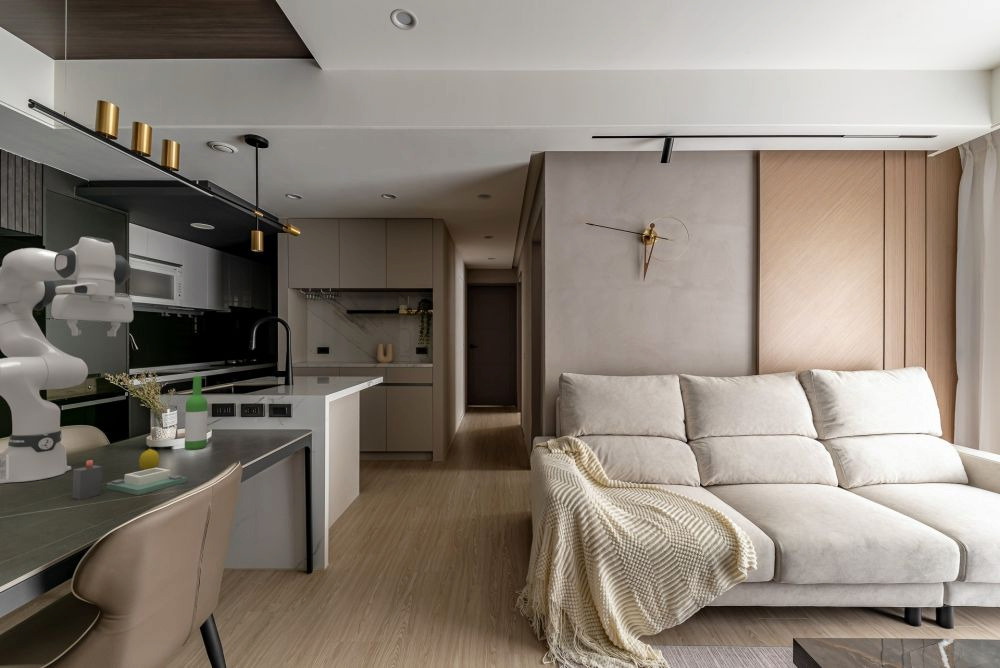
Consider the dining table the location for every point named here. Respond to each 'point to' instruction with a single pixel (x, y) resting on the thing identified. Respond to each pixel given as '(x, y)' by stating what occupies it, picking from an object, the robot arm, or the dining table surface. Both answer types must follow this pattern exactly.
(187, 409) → the wine bottle
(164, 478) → the header board
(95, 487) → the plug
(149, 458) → the lemon
